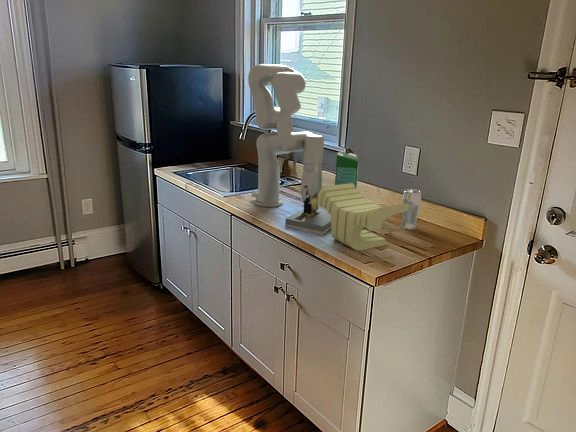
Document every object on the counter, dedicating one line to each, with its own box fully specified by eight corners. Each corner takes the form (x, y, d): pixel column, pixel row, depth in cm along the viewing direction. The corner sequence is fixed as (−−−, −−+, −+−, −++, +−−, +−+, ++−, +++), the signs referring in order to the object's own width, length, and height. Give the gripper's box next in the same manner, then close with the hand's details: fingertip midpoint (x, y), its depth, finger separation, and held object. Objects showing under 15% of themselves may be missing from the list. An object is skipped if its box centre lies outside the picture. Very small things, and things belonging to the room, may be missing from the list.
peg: (300, 219, 192) (302, 197, 189) (306, 215, 196) (308, 194, 193) (312, 221, 190) (313, 199, 187) (318, 218, 194) (319, 197, 191)
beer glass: (407, 231, 185) (411, 194, 180) (395, 226, 191) (399, 189, 186) (421, 229, 188) (425, 192, 184) (409, 223, 194) (413, 188, 189)
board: (285, 226, 186) (285, 218, 185) (304, 216, 199) (304, 208, 198) (322, 234, 179) (322, 226, 178) (339, 223, 192) (340, 215, 191)
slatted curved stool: (315, 232, 180) (318, 187, 175) (349, 226, 188) (352, 182, 183) (367, 260, 156) (372, 208, 150) (403, 252, 164) (409, 202, 158)
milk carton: (354, 213, 205) (358, 155, 198) (333, 211, 207) (336, 154, 199) (355, 207, 214) (359, 152, 206) (335, 205, 215) (338, 150, 208)
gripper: (313, 162, 195) (311, 204, 201) (294, 169, 181) (292, 214, 186) (330, 164, 192) (328, 207, 197) (311, 171, 177) (309, 218, 183)
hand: (310, 210), depth 192 cm, fingers closed on peg, 5 cm apart
